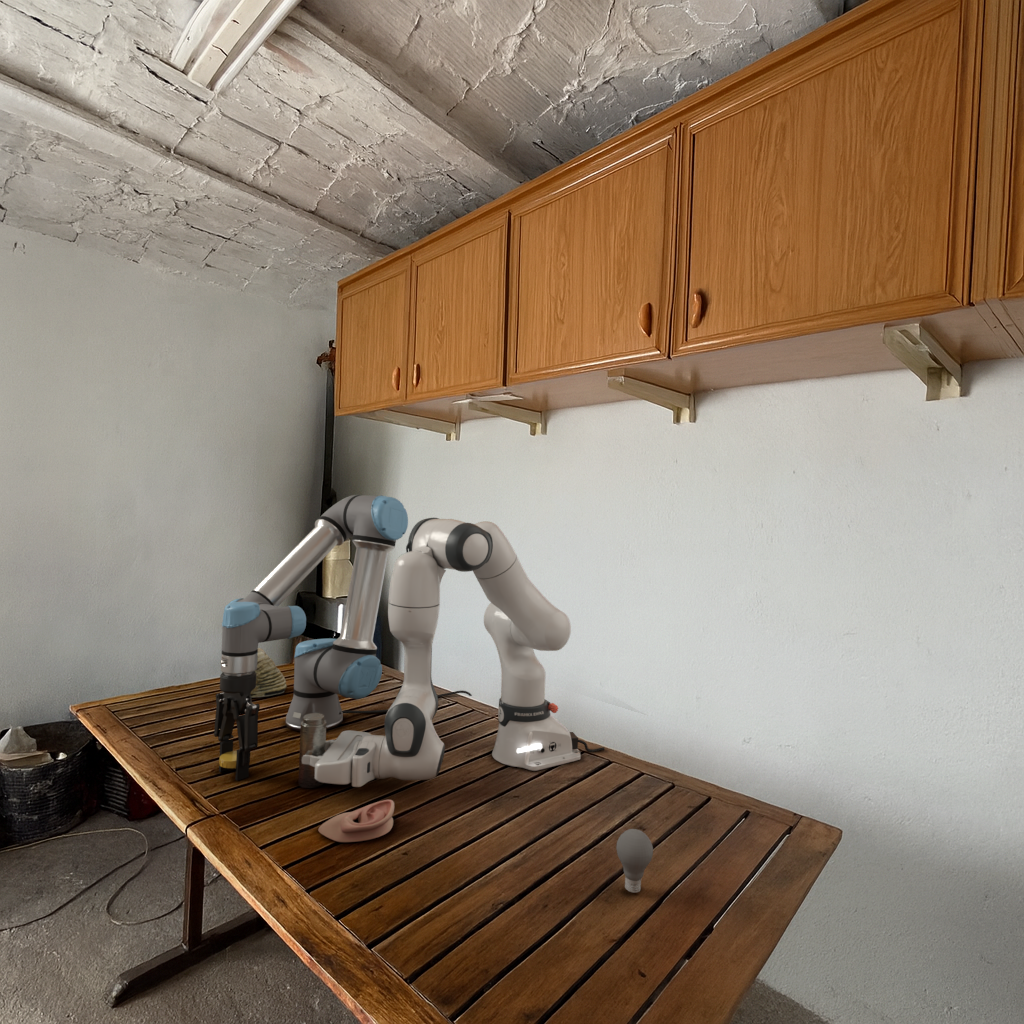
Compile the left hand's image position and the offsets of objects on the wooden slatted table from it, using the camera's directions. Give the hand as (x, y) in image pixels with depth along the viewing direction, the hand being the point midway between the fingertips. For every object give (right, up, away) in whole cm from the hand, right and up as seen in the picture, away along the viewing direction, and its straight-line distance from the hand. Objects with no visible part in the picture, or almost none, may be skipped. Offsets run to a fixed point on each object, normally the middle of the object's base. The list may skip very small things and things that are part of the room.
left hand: (233, 773), depth 142 cm
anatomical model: (+33, -2, -21) cm, 39 cm away
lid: (0, +4, 0) cm, 4 cm away
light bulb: (+83, -4, -37) cm, 91 cm away
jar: (+18, -1, -2) cm, 18 cm away
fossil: (-18, +2, +56) cm, 58 cm away
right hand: (+18, +6, -3) cm, 19 cm away
